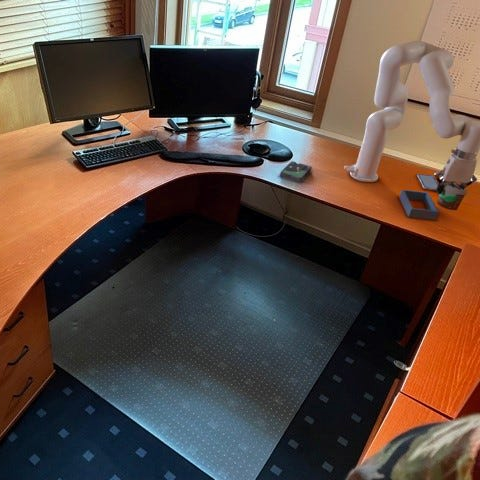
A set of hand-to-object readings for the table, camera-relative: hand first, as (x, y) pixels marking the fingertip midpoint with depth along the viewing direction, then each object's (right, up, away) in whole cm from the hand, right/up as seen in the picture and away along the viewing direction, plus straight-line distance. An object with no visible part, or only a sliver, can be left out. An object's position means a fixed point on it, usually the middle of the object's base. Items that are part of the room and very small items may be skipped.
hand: (448, 193), depth 193 cm
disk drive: (-55, +12, +29) cm, 63 cm away
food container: (0, -4, +3) cm, 6 cm away
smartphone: (+6, +7, +26) cm, 27 cm away
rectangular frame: (-10, -6, +6) cm, 13 cm away
